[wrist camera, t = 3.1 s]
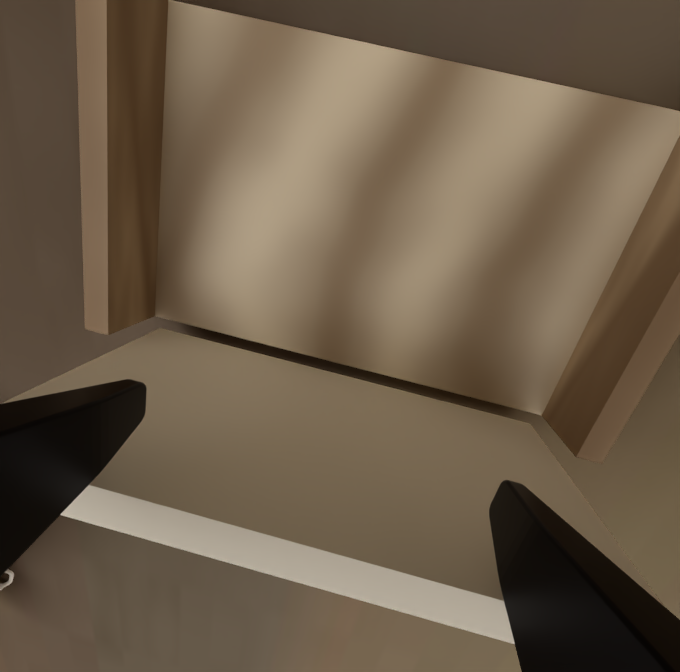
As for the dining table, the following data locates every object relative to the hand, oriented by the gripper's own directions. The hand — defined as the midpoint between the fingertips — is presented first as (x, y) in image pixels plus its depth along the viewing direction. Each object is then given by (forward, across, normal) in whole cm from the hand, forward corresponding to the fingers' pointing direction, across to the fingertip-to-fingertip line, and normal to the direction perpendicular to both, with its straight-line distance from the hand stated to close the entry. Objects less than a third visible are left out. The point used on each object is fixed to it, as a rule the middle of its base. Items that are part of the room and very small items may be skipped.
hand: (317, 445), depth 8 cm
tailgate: (+8, 0, +2) cm, 8 cm away
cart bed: (+9, 0, -5) cm, 10 cm away
